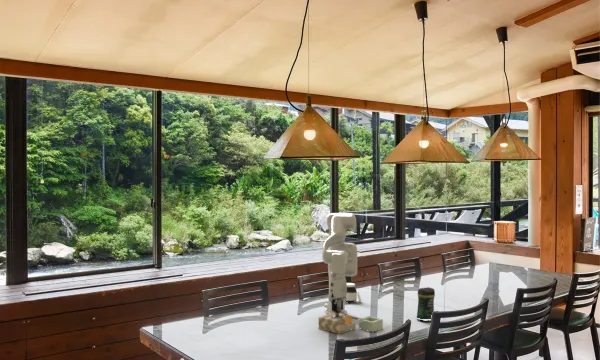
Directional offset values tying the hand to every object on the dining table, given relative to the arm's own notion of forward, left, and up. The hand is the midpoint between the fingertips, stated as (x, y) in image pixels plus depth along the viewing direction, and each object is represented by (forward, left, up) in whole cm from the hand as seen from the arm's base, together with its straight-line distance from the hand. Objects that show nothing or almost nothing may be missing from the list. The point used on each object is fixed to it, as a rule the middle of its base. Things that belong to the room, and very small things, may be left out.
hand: (337, 309), depth 259 cm
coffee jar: (+26, +49, -10) cm, 56 cm away
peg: (0, 0, -9) cm, 9 cm away
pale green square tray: (+13, +12, -10) cm, 20 cm away
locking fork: (+11, -4, -4) cm, 12 cm away
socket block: (0, 0, -10) cm, 10 cm away
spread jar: (-29, +54, -10) cm, 62 cm away
